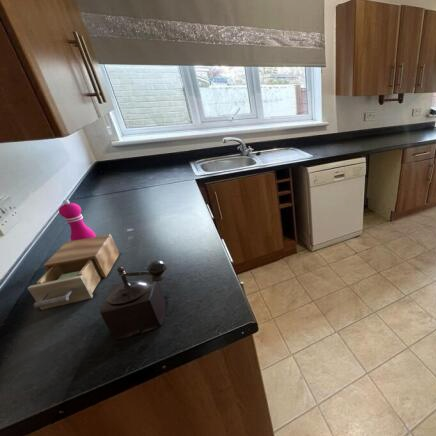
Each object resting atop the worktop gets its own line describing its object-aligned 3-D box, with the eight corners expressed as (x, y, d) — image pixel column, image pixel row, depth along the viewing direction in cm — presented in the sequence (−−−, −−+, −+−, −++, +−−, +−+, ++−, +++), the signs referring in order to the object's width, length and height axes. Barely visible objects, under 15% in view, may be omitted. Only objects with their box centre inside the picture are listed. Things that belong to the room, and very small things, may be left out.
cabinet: (107, 280, 86) (95, 255, 82) (58, 291, 82) (43, 265, 78) (120, 257, 98) (110, 234, 94) (78, 265, 94) (66, 241, 90)
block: (61, 296, 77) (54, 283, 75) (68, 286, 81) (61, 274, 79) (80, 291, 78) (74, 279, 76) (86, 282, 82) (80, 270, 80)
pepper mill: (99, 240, 110) (78, 194, 101) (100, 247, 105) (78, 200, 96) (76, 247, 106) (52, 199, 97) (76, 254, 101) (50, 205, 92)
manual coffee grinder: (111, 343, 64) (79, 283, 56) (123, 312, 73) (96, 256, 65) (183, 322, 69) (163, 265, 61) (186, 295, 78) (168, 242, 70)
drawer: (85, 311, 73) (72, 288, 69) (31, 323, 69) (15, 300, 66) (107, 272, 88) (98, 252, 85) (65, 281, 85) (53, 261, 81)
